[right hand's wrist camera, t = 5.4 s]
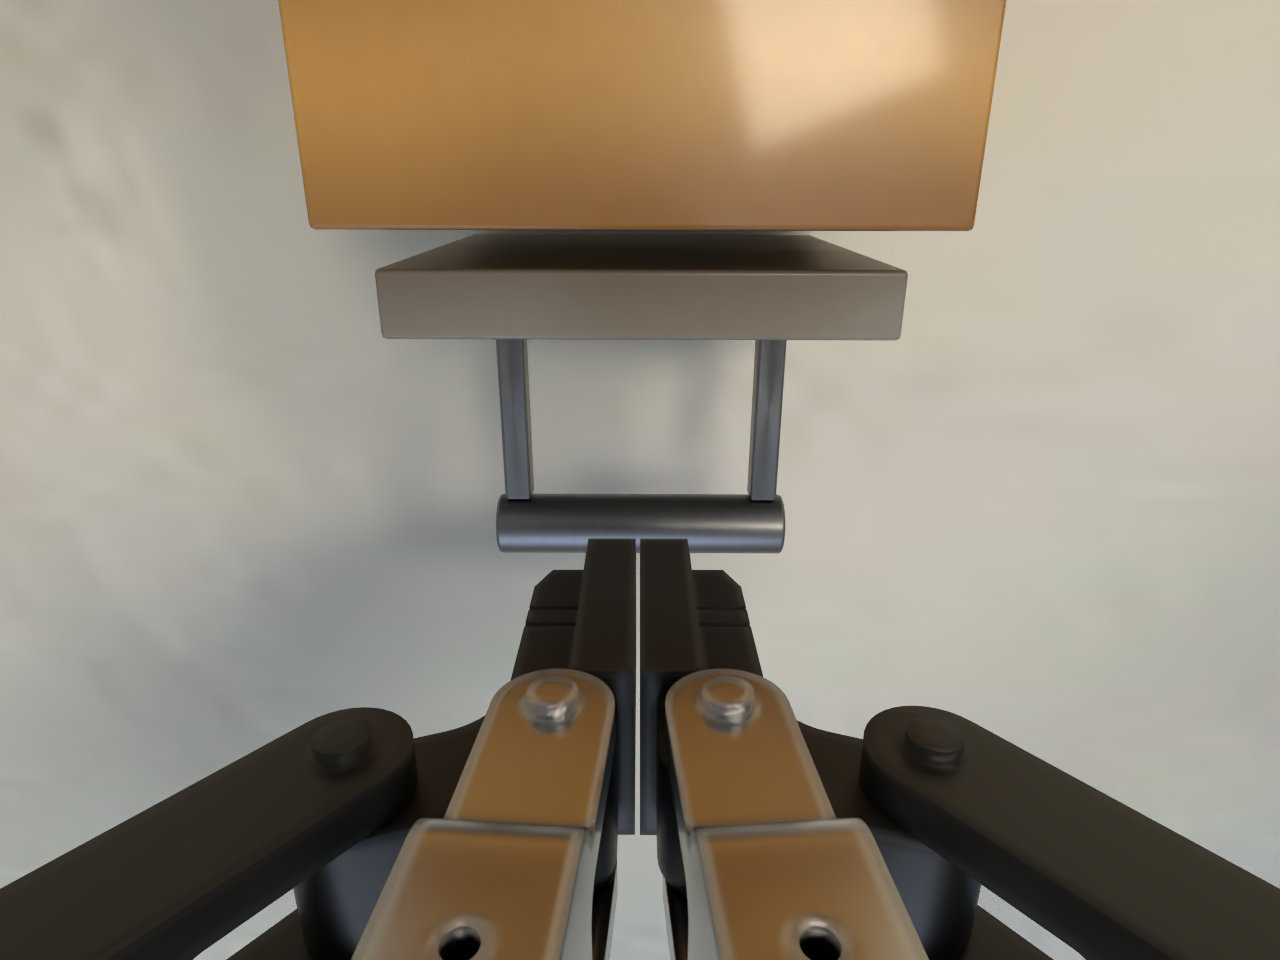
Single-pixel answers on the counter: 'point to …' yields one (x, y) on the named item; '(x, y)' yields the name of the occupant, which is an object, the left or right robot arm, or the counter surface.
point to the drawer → (644, 310)
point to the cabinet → (642, 113)
